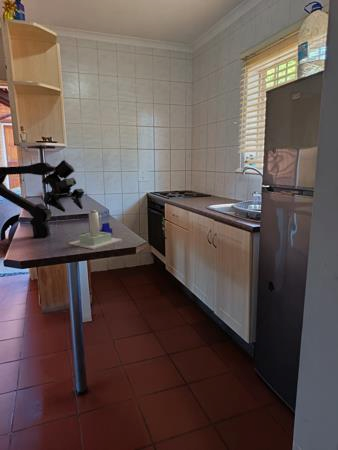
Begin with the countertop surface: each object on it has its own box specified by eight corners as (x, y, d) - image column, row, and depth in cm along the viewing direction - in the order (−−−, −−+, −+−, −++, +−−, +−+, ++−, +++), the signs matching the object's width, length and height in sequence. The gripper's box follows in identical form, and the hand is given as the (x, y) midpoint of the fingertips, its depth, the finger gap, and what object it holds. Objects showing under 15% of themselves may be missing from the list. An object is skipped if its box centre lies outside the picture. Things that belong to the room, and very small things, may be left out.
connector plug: (87, 241, 131) (84, 210, 128) (96, 239, 135) (93, 209, 132) (95, 243, 128) (92, 211, 125) (103, 240, 132) (101, 209, 129)
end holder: (68, 244, 130) (68, 236, 129) (97, 236, 143) (97, 229, 142) (93, 249, 121) (92, 240, 120) (122, 240, 133) (121, 232, 133)
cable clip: (112, 234, 147) (111, 222, 146) (105, 236, 143) (104, 224, 142) (97, 231, 154) (96, 220, 153) (89, 233, 151) (88, 221, 150)
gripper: (43, 173, 129) (61, 200, 124) (80, 171, 143) (97, 195, 139) (35, 191, 135) (52, 217, 131) (71, 187, 150) (87, 211, 145)
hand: (73, 209), depth 136 cm, fingers open, 9 cm apart
